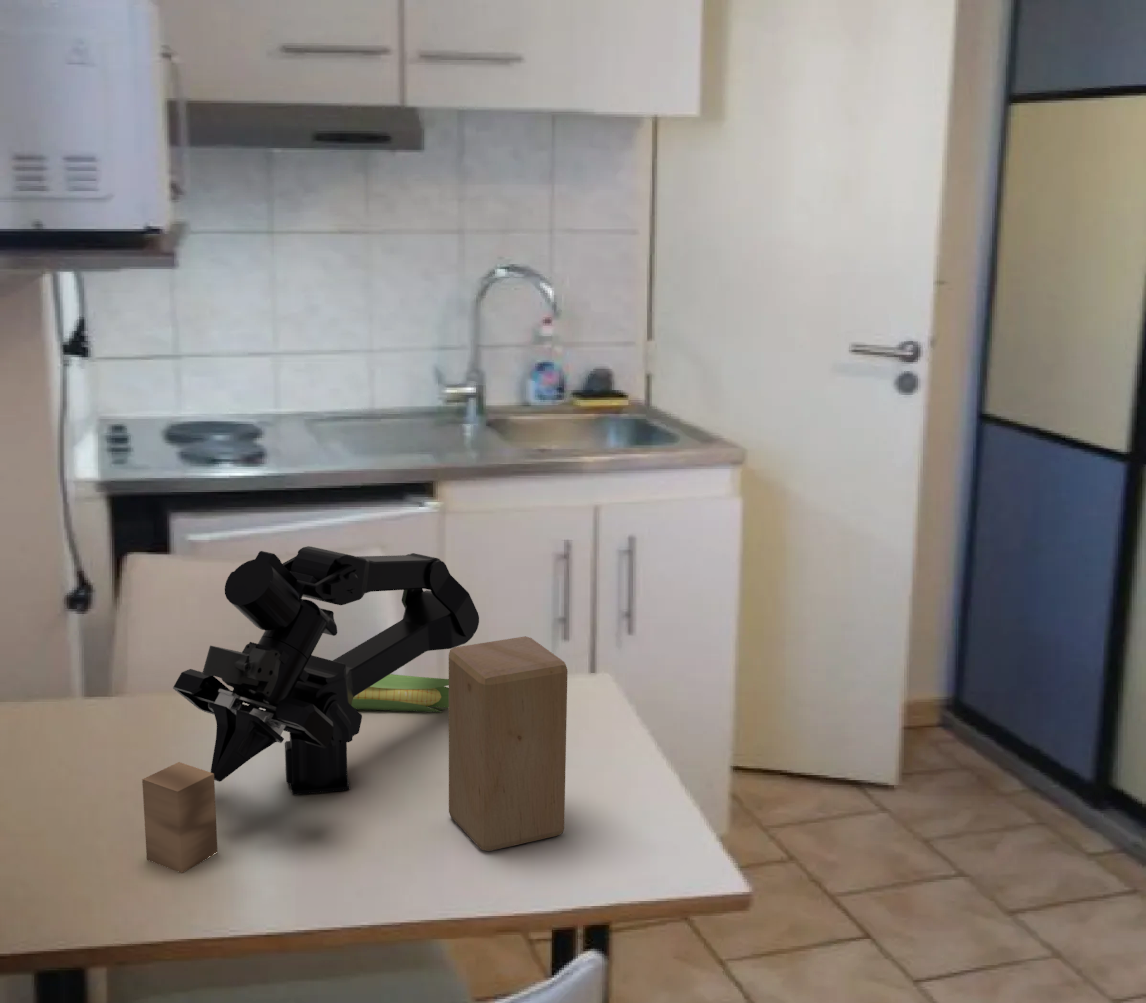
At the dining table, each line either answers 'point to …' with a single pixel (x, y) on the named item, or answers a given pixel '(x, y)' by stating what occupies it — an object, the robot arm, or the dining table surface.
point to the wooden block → (507, 742)
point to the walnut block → (180, 816)
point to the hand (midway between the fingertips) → (214, 779)
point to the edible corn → (404, 694)
